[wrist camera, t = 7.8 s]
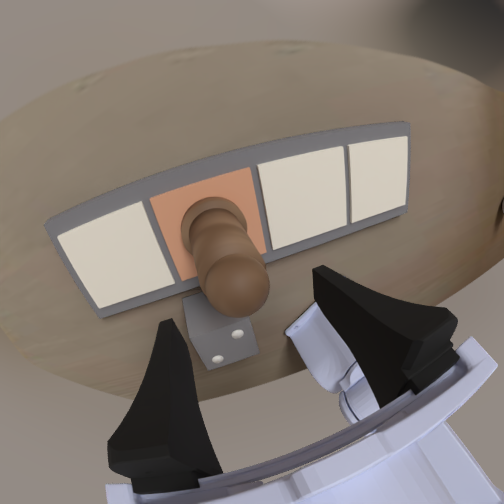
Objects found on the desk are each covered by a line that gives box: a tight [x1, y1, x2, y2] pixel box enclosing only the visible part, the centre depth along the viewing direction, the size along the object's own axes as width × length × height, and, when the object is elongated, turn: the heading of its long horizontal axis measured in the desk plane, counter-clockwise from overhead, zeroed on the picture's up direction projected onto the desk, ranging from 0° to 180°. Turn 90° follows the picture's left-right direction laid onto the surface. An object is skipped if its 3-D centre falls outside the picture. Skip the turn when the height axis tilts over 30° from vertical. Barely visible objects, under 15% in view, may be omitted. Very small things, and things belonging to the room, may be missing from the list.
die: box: [182, 292, 260, 371], centre depth 24 cm, size 5×5×5 cm
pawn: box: [181, 197, 270, 318], centre depth 17 cm, size 5×5×9 cm
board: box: [44, 121, 411, 319], centre depth 22 cm, size 33×10×1 cm, turn 102°
